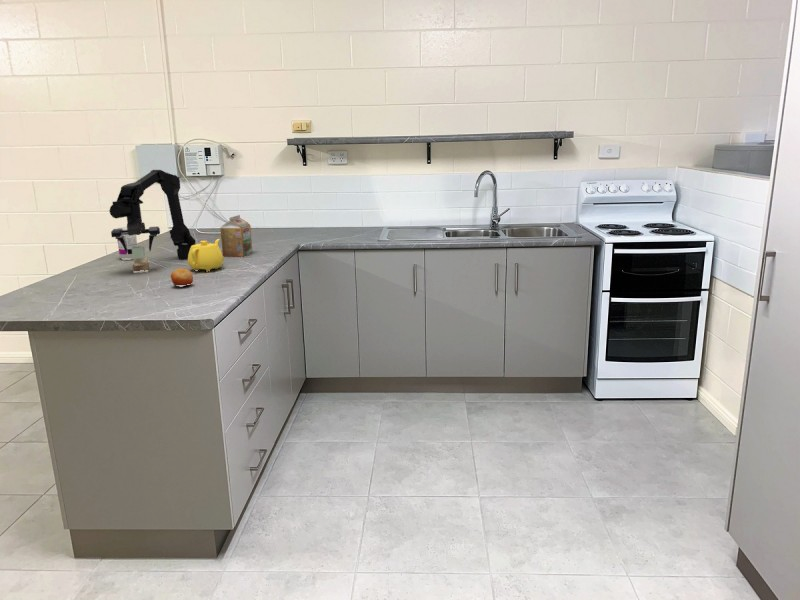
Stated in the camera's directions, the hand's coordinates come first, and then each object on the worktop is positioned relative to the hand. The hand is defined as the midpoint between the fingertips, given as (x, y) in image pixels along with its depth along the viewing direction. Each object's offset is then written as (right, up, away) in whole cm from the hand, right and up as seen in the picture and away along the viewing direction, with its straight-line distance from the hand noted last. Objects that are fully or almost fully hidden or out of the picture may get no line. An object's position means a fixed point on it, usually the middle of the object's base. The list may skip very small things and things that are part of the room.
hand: (138, 251), depth 262 cm
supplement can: (-17, -1, +30) cm, 35 cm away
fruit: (+28, -16, -25) cm, 40 cm away
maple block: (0, -5, +2) cm, 6 cm away
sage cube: (0, -2, +1) cm, 3 cm away
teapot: (+28, -7, +6) cm, 30 cm away
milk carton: (+33, +1, +36) cm, 49 cm away
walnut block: (0, -9, +2) cm, 9 cm away
